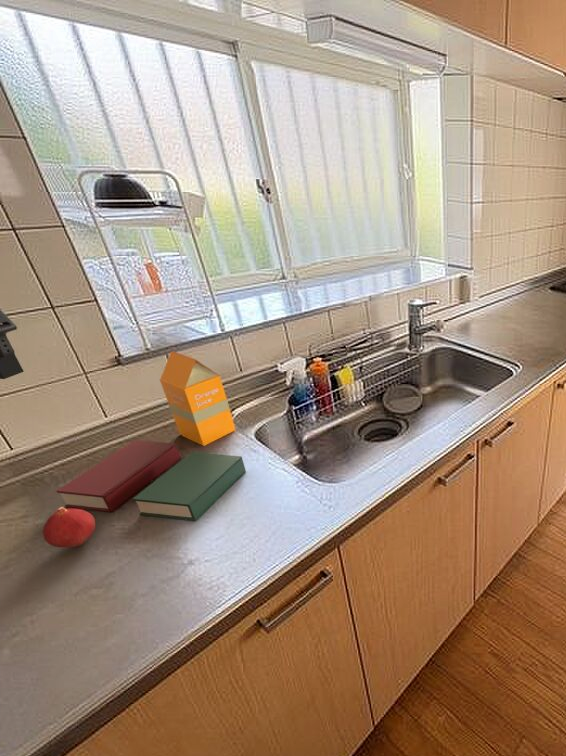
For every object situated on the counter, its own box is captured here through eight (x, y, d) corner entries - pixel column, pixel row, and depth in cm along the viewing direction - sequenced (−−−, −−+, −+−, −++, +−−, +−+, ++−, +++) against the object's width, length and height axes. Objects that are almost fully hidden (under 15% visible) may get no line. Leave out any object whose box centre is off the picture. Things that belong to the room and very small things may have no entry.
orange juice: (203, 446, 94) (175, 366, 85) (179, 435, 97) (150, 356, 88) (236, 429, 101) (214, 353, 91) (213, 419, 104) (189, 344, 95)
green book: (140, 515, 76) (132, 498, 74) (198, 466, 88) (192, 451, 86) (196, 521, 75) (189, 504, 73) (246, 471, 88) (241, 456, 86)
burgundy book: (65, 507, 76) (56, 490, 74) (141, 454, 91) (135, 439, 89) (112, 512, 76) (103, 495, 74) (181, 458, 90) (175, 443, 88)
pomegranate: (47, 563, 66) (23, 526, 62) (64, 536, 71) (42, 500, 67) (95, 552, 68) (74, 516, 65) (108, 527, 73) (89, 492, 69)
